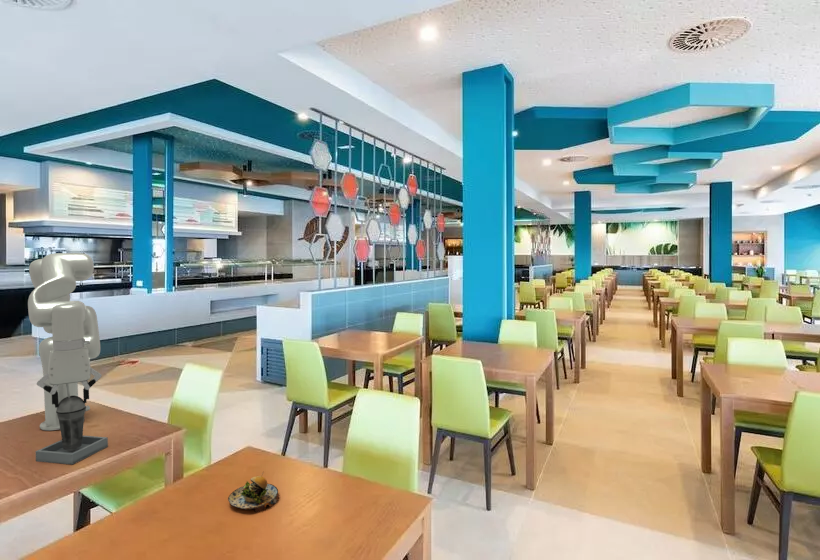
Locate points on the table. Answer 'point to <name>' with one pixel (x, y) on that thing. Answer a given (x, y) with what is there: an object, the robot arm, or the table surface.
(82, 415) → the beverage cup
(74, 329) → the robot arm
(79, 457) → the tray
